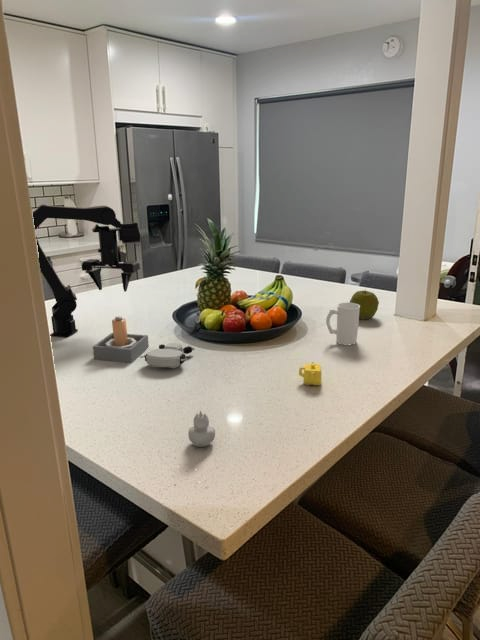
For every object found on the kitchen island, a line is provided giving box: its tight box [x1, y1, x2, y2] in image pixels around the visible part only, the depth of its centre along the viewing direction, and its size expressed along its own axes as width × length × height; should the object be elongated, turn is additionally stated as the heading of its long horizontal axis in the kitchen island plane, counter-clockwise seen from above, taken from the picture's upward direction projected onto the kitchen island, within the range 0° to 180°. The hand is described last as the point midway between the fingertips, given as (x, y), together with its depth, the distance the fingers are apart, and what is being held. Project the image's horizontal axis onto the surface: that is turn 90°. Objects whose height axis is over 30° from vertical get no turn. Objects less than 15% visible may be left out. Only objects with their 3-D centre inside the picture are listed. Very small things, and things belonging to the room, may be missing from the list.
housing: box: [92, 332, 150, 364], centre depth 145 cm, size 12×12×4 cm
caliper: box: [195, 311, 201, 324], centre depth 173 cm, size 20×1×6 cm, turn 174°
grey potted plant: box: [187, 410, 216, 448], centre depth 98 cm, size 5×7×8 cm
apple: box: [349, 290, 380, 320], centre depth 173 cm, size 10×10×11 cm
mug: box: [325, 302, 360, 346], centre depth 151 cm, size 10×7×12 cm, turn 89°
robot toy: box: [139, 342, 196, 369], centre depth 138 cm, size 12×4×15 cm
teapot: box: [298, 362, 322, 386], centre depth 125 cm, size 8×6×5 cm
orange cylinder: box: [111, 316, 128, 347], centre depth 143 cm, size 4×4×10 cm
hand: (113, 290), depth 164 cm, fingers open, 9 cm apart
